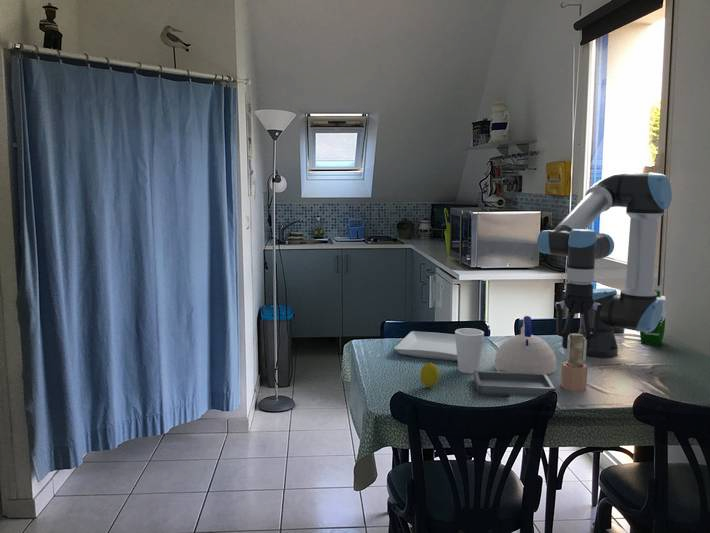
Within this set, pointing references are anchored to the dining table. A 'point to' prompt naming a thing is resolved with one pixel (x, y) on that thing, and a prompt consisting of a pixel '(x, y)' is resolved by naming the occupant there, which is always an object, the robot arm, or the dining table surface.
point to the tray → (511, 383)
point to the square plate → (429, 345)
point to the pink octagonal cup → (574, 377)
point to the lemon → (429, 374)
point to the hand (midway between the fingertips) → (575, 359)
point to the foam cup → (468, 349)
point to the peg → (576, 350)
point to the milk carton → (658, 332)
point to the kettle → (525, 353)
